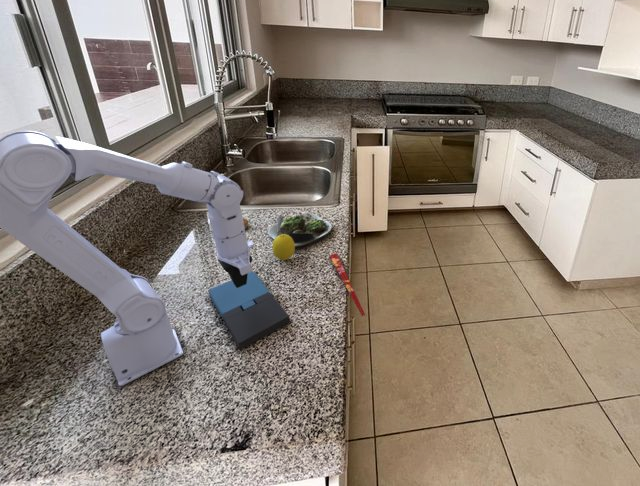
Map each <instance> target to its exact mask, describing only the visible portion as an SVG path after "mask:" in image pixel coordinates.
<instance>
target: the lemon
mask: <svg viewBox="0 0 640 486" xmlns="http://www.w3.org/2000/svg"><path fill="white" fill-rule="evenodd" d="M271 248H272V253H273V255H274V256H275V258H276V259H278V260H281V261H287V260H289V259H291V258H292V257H293V256H294V254H295V250H296V249H295V244H294V241H293V239H292V238H291V237H290V236H289V235H286V234H281V235H279V236H277V237H276V238H275V239H273V241H272V245H271Z"/></svg>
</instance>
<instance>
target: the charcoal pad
mask: <svg viewBox="0 0 640 486" xmlns="http://www.w3.org/2000/svg"><path fill="white" fill-rule="evenodd" d="M254 302H255V304H256V305H254V306H252V307H250V308H248V309H246V310H244V311H242V309H241V308H240V306H239V307H236V308H234V309H232V310H230V311H228V312H226V313H224V314H222V316H221V318H222V317H223V318H222V320H223V322H224V324H225V326H226V328H227V330H228V331H229V333H230V335H231V337H232V338H233V340H234V342H235V344H236V346H237V347H238V349H239V351H241V350H244V349H245V348H247V347H249V346H251V345H252V344H254V343H257V342H258V341H259V340H261V339H263V338H264V337H267V336H268V335H270V334H272V333H274V332H276V331H277V330H279V329H281V328H283V327H285V326H286V325H288V324H290V322H291V321H290V316H289V314H287V312H286V311H285V310H284V308H283V307H282V305H281V304H280V303H279V302H278V300H277V299H276V298H275V297H274V295H273V294H272V293H271V292H268V293H266V294H264V295H262V296H259V297H257V298H255V299H254Z"/></svg>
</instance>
